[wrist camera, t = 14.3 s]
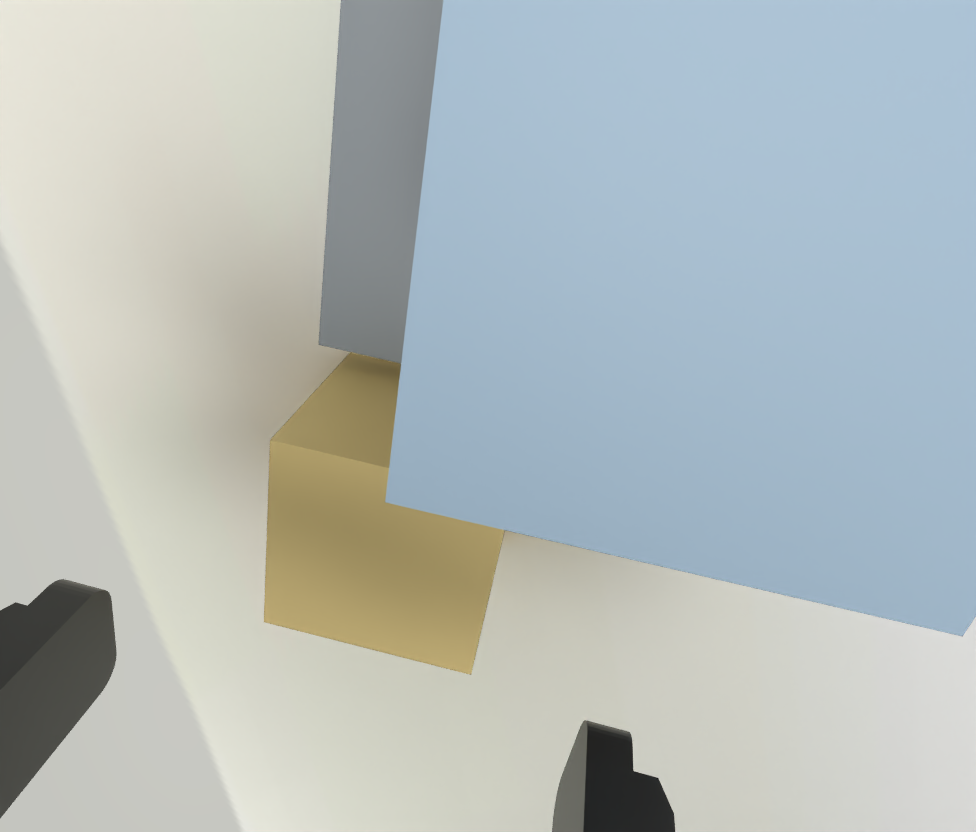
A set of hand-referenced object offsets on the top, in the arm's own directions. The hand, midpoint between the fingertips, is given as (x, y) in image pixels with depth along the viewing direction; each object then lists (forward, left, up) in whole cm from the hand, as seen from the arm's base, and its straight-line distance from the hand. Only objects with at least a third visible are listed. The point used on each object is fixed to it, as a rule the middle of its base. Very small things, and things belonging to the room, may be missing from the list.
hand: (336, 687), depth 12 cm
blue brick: (+8, -4, -3) cm, 10 cm away
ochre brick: (-1, 0, -9) cm, 9 cm away
